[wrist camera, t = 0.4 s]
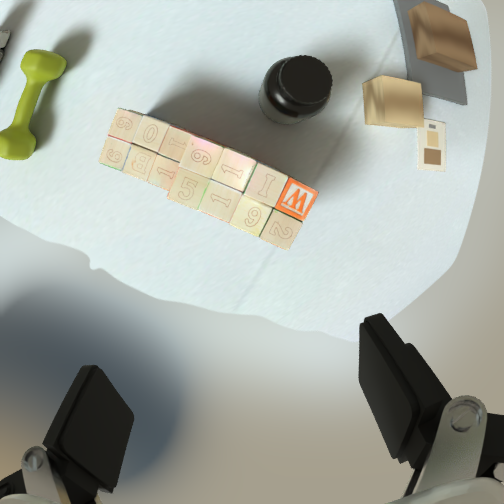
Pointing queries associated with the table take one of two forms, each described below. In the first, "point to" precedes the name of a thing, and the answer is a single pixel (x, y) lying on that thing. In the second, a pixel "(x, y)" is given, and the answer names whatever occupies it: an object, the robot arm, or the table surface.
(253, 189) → the stack of blocks
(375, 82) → the oak brick
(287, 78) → the supplement bottle
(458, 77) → the board
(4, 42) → the toy vehicle
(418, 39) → the brick
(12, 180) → the table surface
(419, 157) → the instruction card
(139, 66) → the table surface
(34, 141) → the dumbbell
